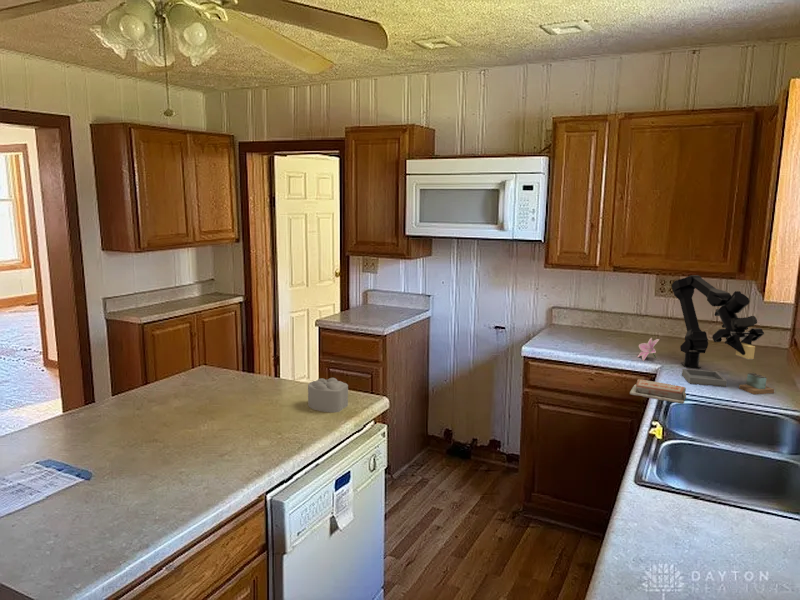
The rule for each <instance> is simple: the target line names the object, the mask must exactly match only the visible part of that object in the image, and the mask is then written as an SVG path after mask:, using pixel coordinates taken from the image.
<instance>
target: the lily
mask: <svg viewBox="0 0 800 600" xmlns="http://www.w3.org/2000/svg"><path fill="white" fill-rule="evenodd" d="M659 341H660V338H657V339H654V340H653V337H650V338H649V340H648V341H647V342H643V343H639V344H638V348H639V350H640V352H639V354H638V355H637V358H639V357H641V360H642V362H644V361H645V360H646V358H647V356H648V355H649V354H652V355H653V357H654V358H656V355H655V354H656V353H657V351H656V349H655V345H657V343H658V342H659ZM656 359H657V358H656Z"/></svg>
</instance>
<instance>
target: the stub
mask: <svg viewBox="0 0 800 600" xmlns="http://www.w3.org/2000/svg"><path fill="white" fill-rule="evenodd" d="M741 344H742V346H743V348H744V351H745V355H742V354H741V353H740V352H738V351H737V350H736V349H735V356H736V357H739V358H742V359H744V360H747V361H751V360H754V357H755V351H756V346H755V345H749V344H746V343H741Z"/></svg>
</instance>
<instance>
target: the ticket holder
mask: <svg viewBox="0 0 800 600" xmlns="http://www.w3.org/2000/svg"><path fill="white" fill-rule="evenodd" d="M766 384H767V376H764V375H761V374H758V373H756V372H748V373H747V377H746V383H745V384H744V383H743V384H739V387H738V389H739V390H742V391H745V392H747V393H750V394H752V395H764V394H774V393H775V388H772V387H769V386H767V385H766Z"/></svg>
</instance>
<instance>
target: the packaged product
mask: <svg viewBox="0 0 800 600" xmlns="http://www.w3.org/2000/svg"><path fill="white" fill-rule="evenodd" d="M686 389H687V388H686V387H685V386H682V385H675V384H670V383H665V382H660V381H659V382H658V381H652V380H647V379H640V378H639V379H637V381H636V384H634V385H633V386H632V388H631V390H630V391H629V395H632V396H636V397H638V396H640V397H643V398H648V399H654V400H655V399H656V400H659V401H665V402H671V403H677V404H682V405H683V404H684V402H685V400H686V397H687V394H686Z"/></svg>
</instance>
